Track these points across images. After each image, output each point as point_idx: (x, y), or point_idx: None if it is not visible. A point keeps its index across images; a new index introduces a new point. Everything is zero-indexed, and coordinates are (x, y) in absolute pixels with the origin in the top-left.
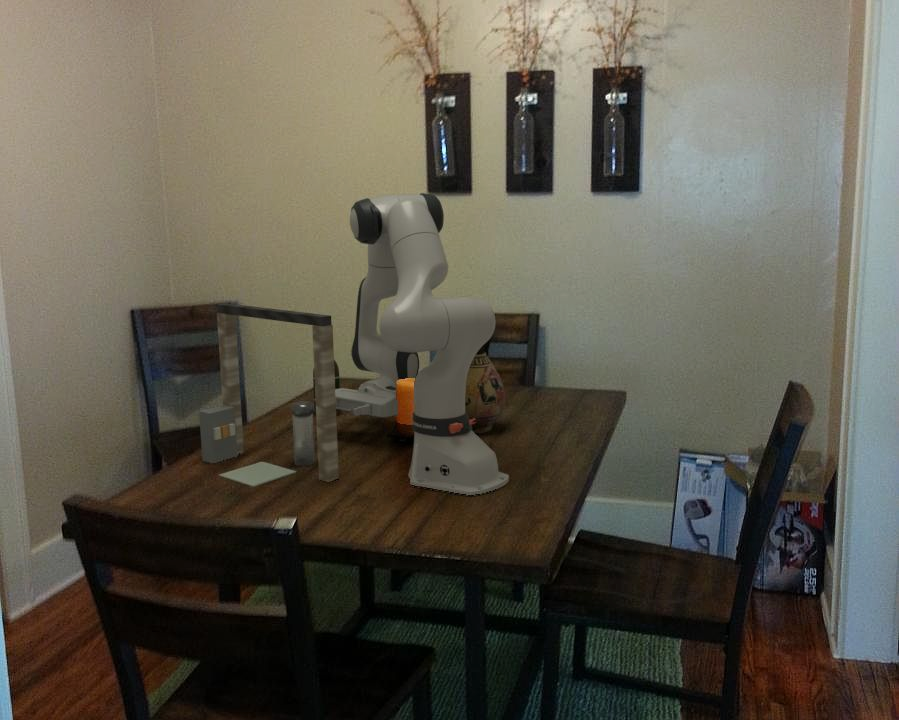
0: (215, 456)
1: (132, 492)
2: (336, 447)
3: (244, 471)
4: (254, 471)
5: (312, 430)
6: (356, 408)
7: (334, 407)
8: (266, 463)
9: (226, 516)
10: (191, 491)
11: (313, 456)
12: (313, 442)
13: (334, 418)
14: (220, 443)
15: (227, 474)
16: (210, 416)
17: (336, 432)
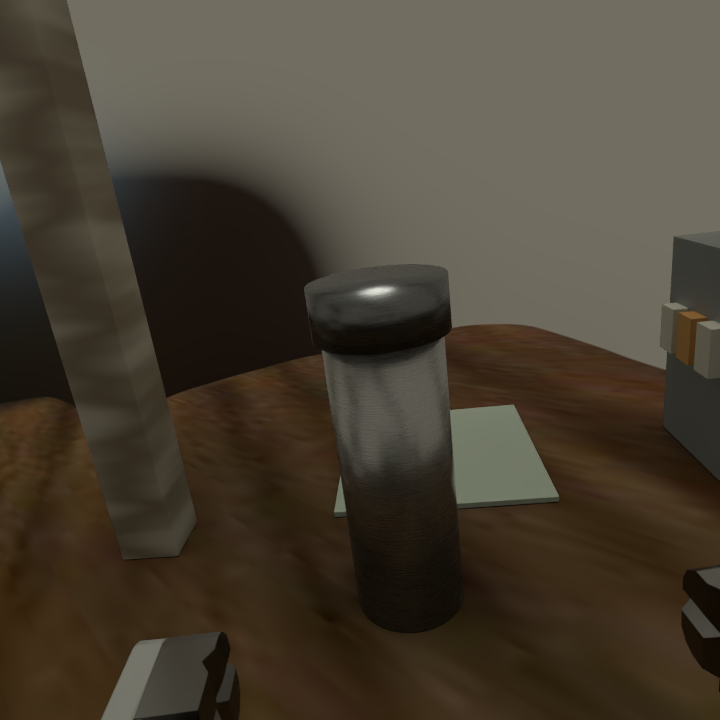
0: (669, 408)
1: (536, 332)
2: (88, 432)
3: (486, 438)
4: (460, 451)
5: (338, 446)
6: (135, 655)
7: (34, 248)
8: (517, 495)
9: (265, 370)
10: (449, 368)
11: (357, 575)
12: (350, 513)
13: (51, 300)
14: (685, 376)
15: (497, 413)
16: (675, 249)
17: (66, 369)
